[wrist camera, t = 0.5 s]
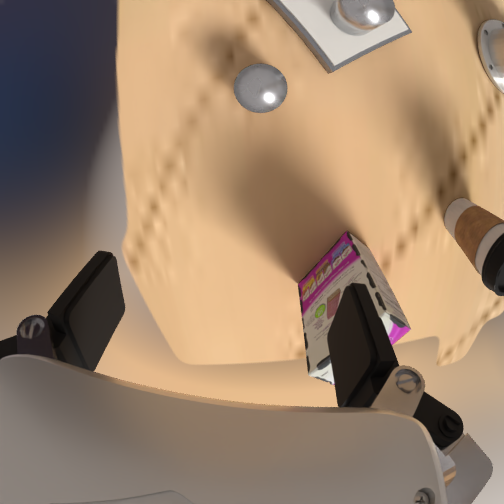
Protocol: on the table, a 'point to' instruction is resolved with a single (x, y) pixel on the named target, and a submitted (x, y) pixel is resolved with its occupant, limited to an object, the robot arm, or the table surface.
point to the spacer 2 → (361, 15)
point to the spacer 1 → (260, 88)
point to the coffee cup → (479, 240)
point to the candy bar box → (330, 293)
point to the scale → (334, 32)
